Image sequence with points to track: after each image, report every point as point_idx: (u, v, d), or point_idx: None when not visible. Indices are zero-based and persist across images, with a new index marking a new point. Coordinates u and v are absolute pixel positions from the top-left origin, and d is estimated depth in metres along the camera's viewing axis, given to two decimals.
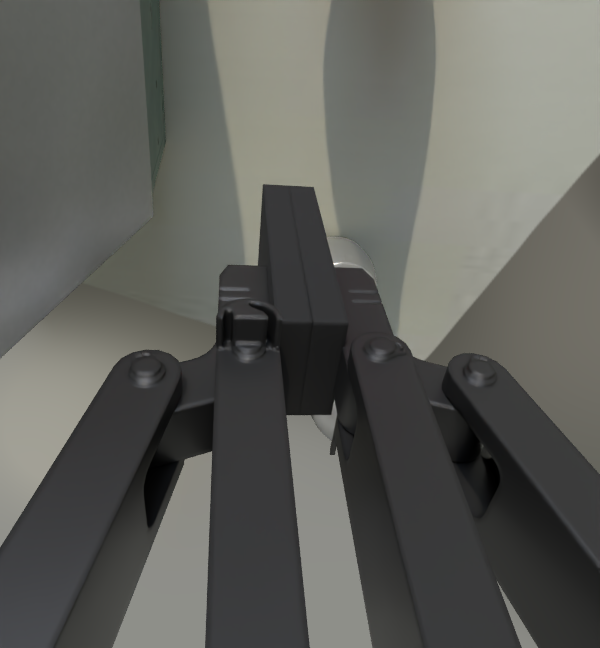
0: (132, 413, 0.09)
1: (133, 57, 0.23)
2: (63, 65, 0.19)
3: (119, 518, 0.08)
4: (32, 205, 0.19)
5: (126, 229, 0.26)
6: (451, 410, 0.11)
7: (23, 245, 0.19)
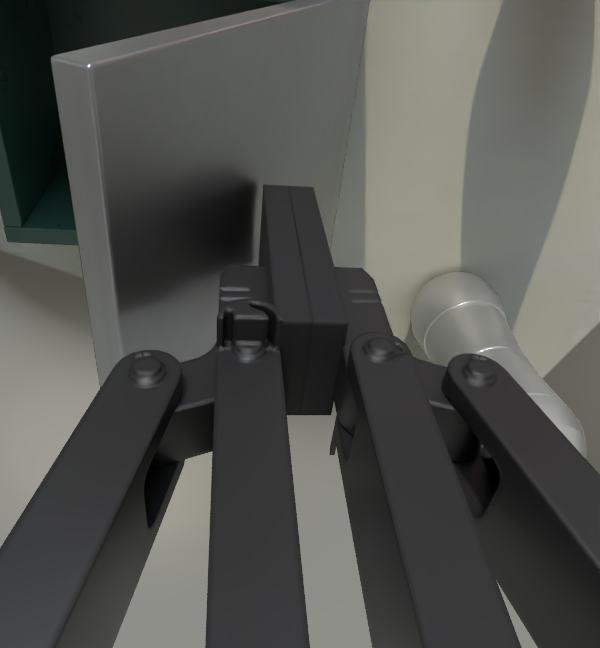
0: (132, 413, 0.09)
1: (347, 105, 0.22)
2: (302, 120, 0.18)
3: (119, 518, 0.08)
4: (256, 265, 0.18)
5: None
6: (451, 410, 0.11)
7: None
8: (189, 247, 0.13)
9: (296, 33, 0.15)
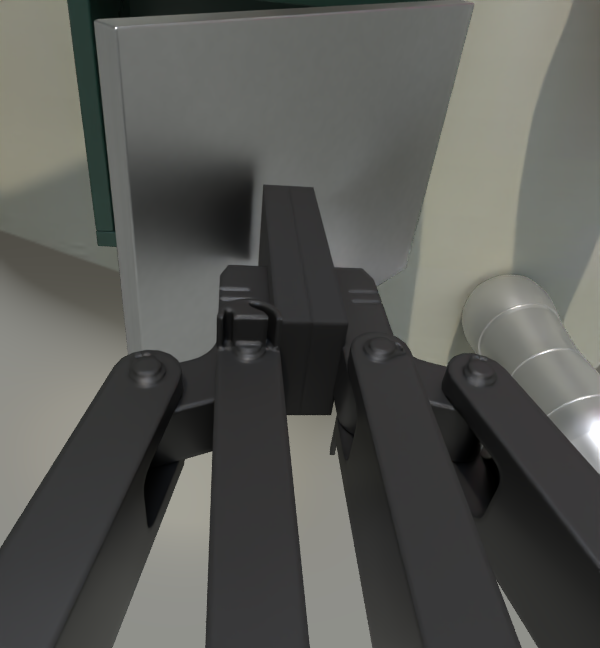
0: (132, 413, 0.09)
1: (436, 113, 0.23)
2: (370, 116, 0.19)
3: (119, 518, 0.08)
4: None
5: (376, 277, 0.26)
6: (451, 410, 0.11)
7: None
8: (217, 205, 0.15)
9: (362, 32, 0.17)
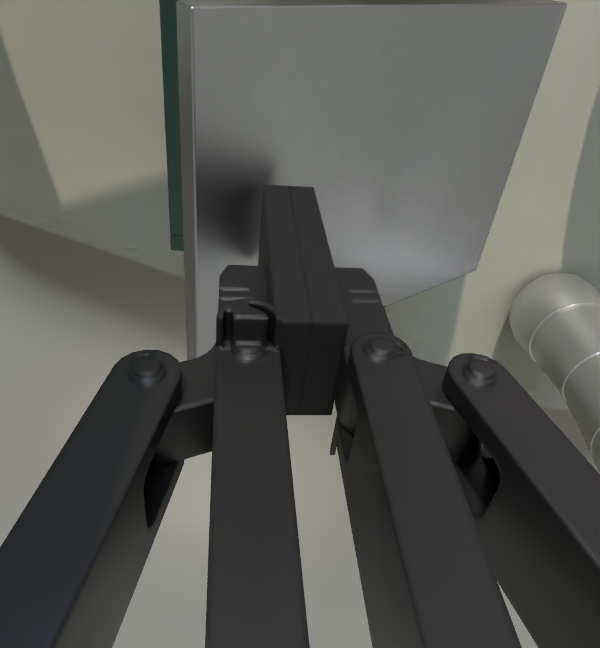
0: (132, 413, 0.09)
1: (518, 113, 0.22)
2: (442, 109, 0.19)
3: (119, 518, 0.08)
4: (362, 227, 0.20)
5: (442, 274, 0.26)
6: (451, 410, 0.11)
7: (340, 259, 0.21)
8: (277, 179, 0.17)
9: (437, 25, 0.17)
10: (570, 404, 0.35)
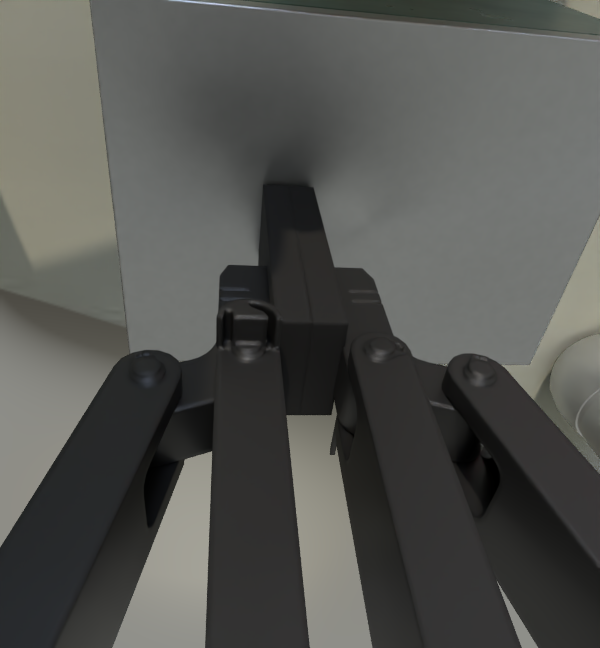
0: (132, 413, 0.09)
1: (589, 181, 0.17)
2: (446, 150, 0.16)
3: (119, 518, 0.08)
4: None
5: (468, 352, 0.21)
6: (451, 409, 0.11)
7: None
8: (208, 181, 0.16)
9: (426, 48, 0.15)
10: None
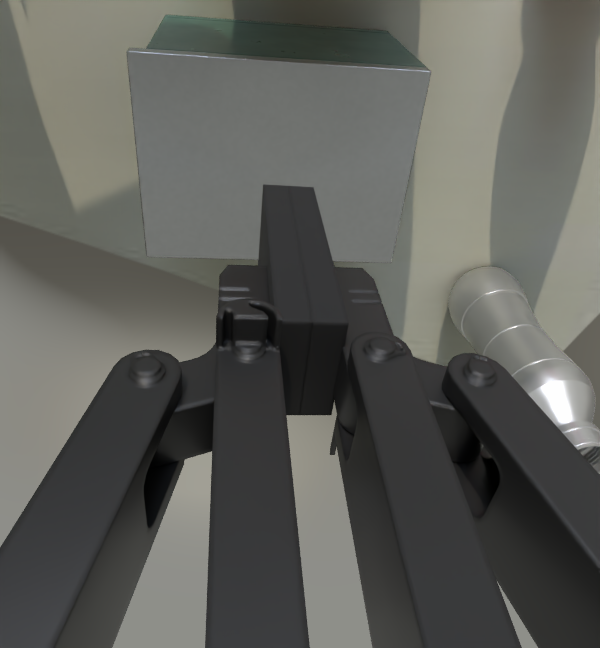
0: (132, 413, 0.09)
1: (400, 144, 0.31)
2: (316, 128, 0.30)
3: (119, 518, 0.08)
4: (260, 193, 0.32)
5: (350, 253, 0.35)
6: (451, 410, 0.11)
7: (244, 211, 0.33)
8: (187, 146, 0.30)
9: (297, 74, 0.29)
10: None
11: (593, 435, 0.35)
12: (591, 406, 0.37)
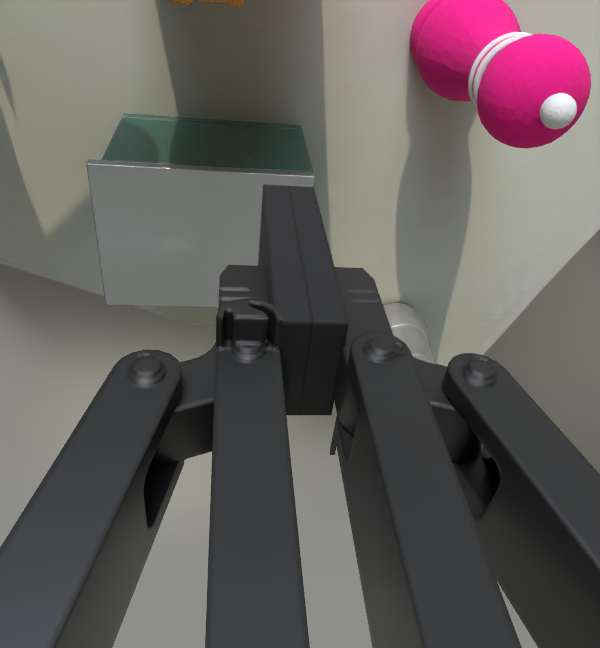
0: (132, 413, 0.09)
1: None
2: (231, 214, 0.40)
3: (119, 518, 0.08)
4: (191, 259, 0.42)
5: None
6: (451, 410, 0.11)
7: (180, 271, 0.43)
8: (134, 227, 0.40)
9: (214, 178, 0.39)
10: None
11: None
12: None
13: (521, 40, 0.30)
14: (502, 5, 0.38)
